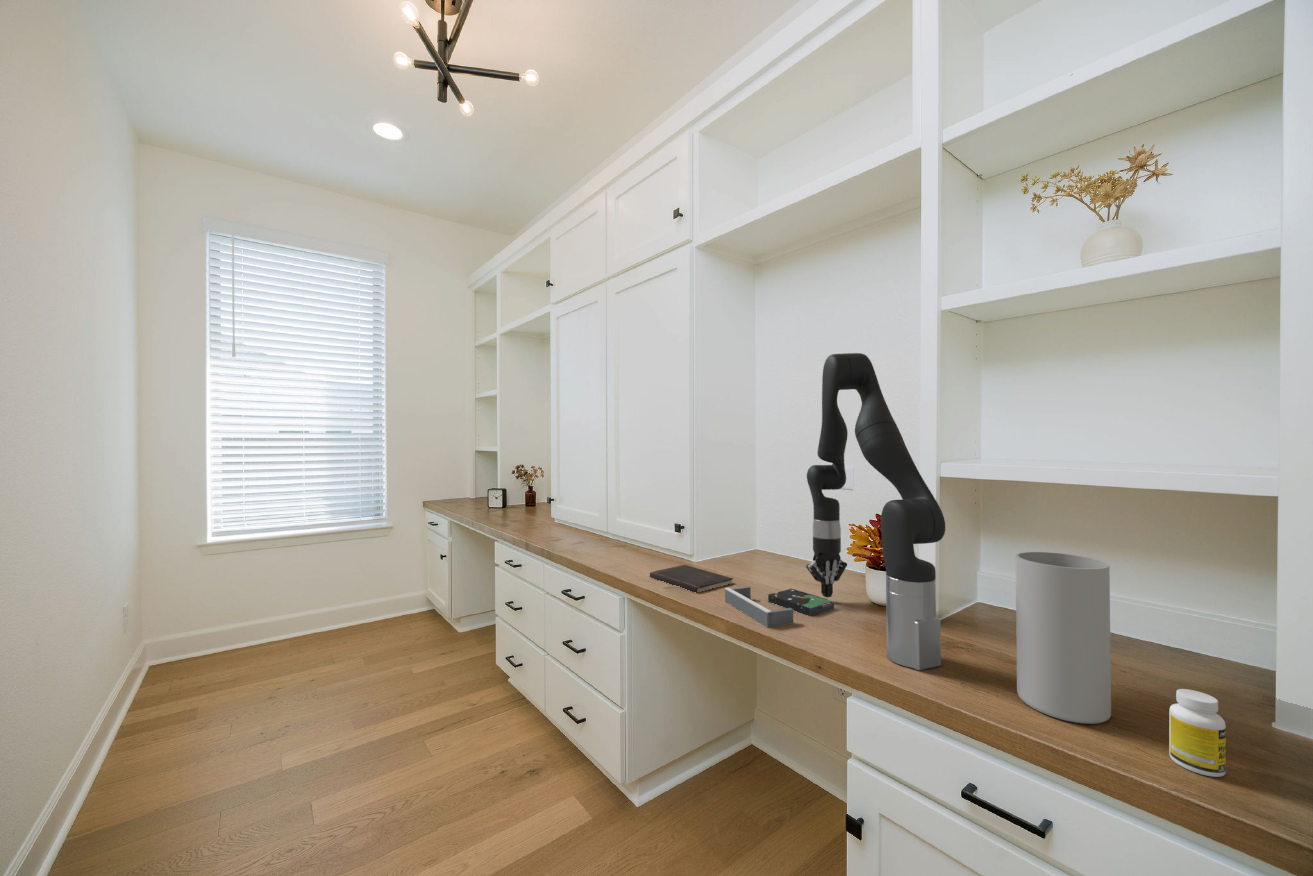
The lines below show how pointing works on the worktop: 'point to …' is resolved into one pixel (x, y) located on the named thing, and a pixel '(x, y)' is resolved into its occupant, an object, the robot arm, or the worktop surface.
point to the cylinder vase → (1064, 635)
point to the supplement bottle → (1197, 733)
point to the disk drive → (801, 602)
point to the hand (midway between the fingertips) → (827, 596)
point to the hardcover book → (691, 578)
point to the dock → (757, 608)
